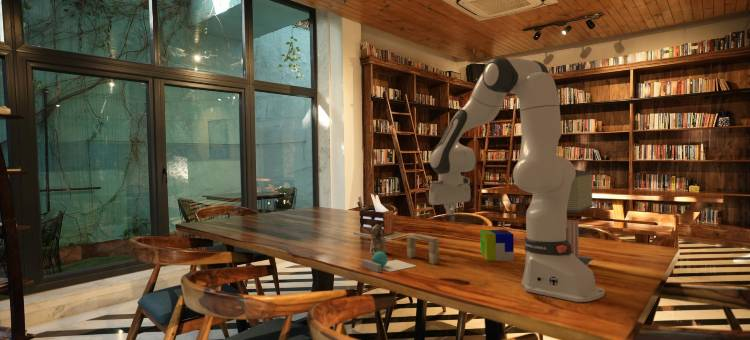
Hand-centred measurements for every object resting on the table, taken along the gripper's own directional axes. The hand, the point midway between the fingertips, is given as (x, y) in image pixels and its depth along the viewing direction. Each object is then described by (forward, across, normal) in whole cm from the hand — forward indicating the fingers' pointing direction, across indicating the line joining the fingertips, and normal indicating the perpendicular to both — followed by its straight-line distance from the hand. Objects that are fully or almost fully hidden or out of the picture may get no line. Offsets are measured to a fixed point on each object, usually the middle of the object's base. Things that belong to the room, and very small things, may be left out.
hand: (450, 214), depth 169 cm
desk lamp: (+17, +17, -39) cm, 45 cm away
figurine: (+16, -21, +21) cm, 34 cm away
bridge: (+16, -15, 0) cm, 22 cm away
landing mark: (+16, -29, 0) cm, 33 cm away
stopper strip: (+16, -38, +1) cm, 41 cm away
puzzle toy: (+17, +10, -15) cm, 24 cm away
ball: (+13, -34, +2) cm, 37 cm away
